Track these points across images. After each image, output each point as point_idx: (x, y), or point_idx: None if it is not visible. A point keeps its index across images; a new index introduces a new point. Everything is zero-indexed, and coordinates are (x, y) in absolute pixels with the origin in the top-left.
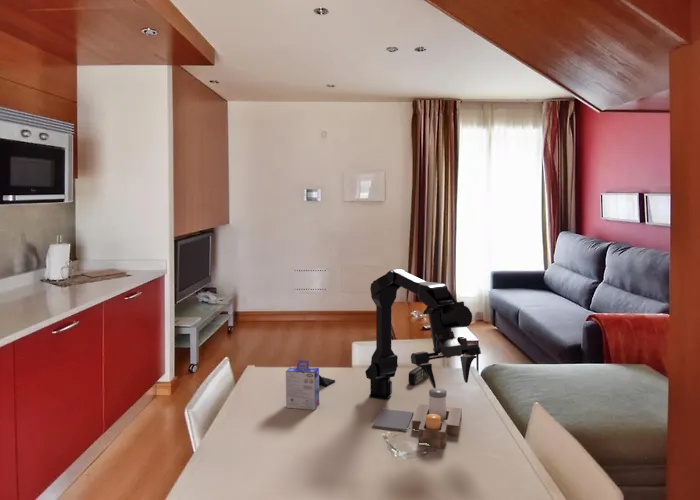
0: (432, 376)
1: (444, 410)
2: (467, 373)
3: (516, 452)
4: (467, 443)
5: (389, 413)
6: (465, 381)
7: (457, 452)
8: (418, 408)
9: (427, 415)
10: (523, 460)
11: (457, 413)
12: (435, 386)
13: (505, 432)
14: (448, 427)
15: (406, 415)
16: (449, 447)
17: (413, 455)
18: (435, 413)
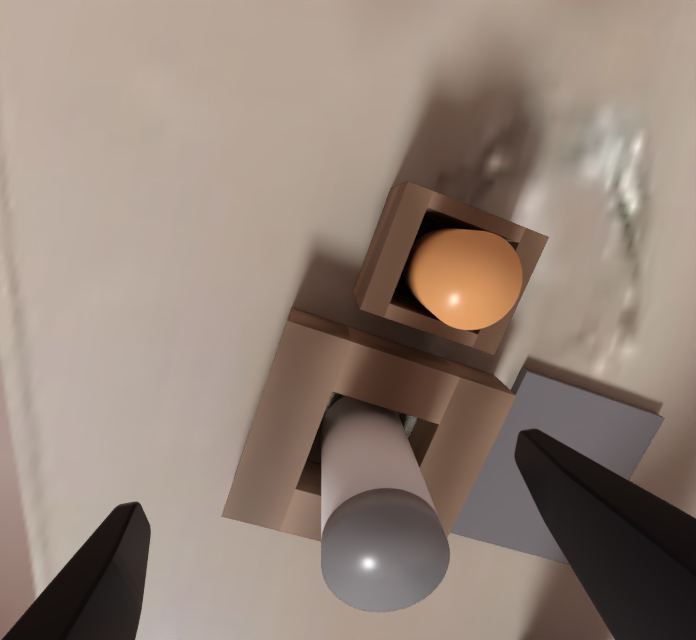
0: (669, 530)
1: (340, 445)
2: (41, 621)
3: (29, 112)
4: (266, 231)
5: None
6: (141, 524)
7: (339, 143)
8: (446, 522)
9: (504, 305)
10: (8, 17)
11: (258, 461)
12: (533, 439)
13: (43, 330)
14: (339, 333)
15: (487, 502)
16: (365, 198)
17: (557, 133)
18: (392, 431)
